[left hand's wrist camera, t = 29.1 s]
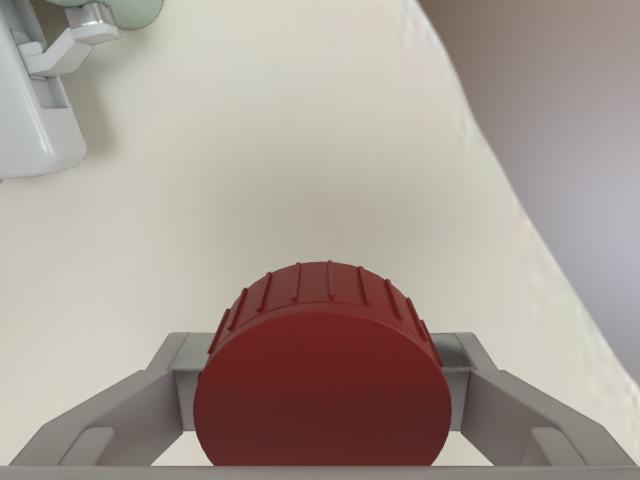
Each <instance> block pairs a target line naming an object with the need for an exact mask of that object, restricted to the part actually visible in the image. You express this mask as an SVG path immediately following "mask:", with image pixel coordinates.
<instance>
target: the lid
mask: <svg viewBox="0 0 640 480" xmlns="http://www.w3.org/2000/svg"><path fill="white" fill-rule="evenodd" d="M207 353H208V354H210V355H209V358H208V360H207V362H206V365H205V367H204V369H203V372H202V374H199V375H198V377H197V380H198V384H197V387H196V391H195V395H194V402H193V419H194V426H195V430H196V434H197V437H198V440H199V442H200V444H201V447H202V449H203V450H204V452H205V454H206V455H207V457H208V459H209V460H210V461H211V463H212V464H213V465H214V466H431V465H432V463H433V462H434V461H435V460H436V458H437V457H438V455H439V453H440V452H441V450H442V448H443V446H444V444H445V441H446V439H447V437H448V433H449V429H450V425H451V415H452V404H451V395H450V391H449V388H448V384H447V381H446V379H445V377H444V375H443V372H442V370H441V367H443V366H444V365H443V363H442V360H441V358H440V356H439V354H438V352H437V350H436V347H435V345H434V343H433V341H432V339H431V336H430V334H429V332H428V330H427V328H426V325H425V323H424V321H423V320H420V319H419V317H418V315H417V312H416V310H415V308H414V306H413V303H412V301H411V299H410V298H409V297H408V298H405V296H404V295H403V294H402V293H401V292H400V291H399V290H398V289H397V288H395V287H394V286H393V285H392V284H391V282H390V280H388V279H386V280H384V279H383V278H381V277H380V276H378V275H376V274H374V273H372V272H369V271H367V270H365V269H363V267H361V266H359V267H355V266H352V265H347V264H342V263H336V262H332V261H329V260H328V262H308V263H302V264H300V262H298V263H296V265H292V266H289V267H286V268H282V269H279V270H277V271H275V272H273V273H271V272H268V273H267V274H266V276H264V277H263V278H261V279H260V280H258V281H256V282H255V283H254V284H252V285H251V286H250V287H249V288H248V289H247V288H244V289H243V290H242V293H241V295H240V297H239V298H238V299H237V300H236V301H235V303H234V304H233V306H232V307H231V309H228V308H227V309H226V311H225V313H224V316H223V318H222V320H221V322H220V325H219V327H218V329H217V331H216V334H215V336H214V338H213V341H212V343H211V345H210V347H209V350H208V352H207Z"/></svg>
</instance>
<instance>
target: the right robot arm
mask: <svg viewBox="0 0 640 480" xmlns="http://www.w3.org/2000/svg"><path fill="white" fill-rule="evenodd" d="M63 9H64V12H65V15H66V18H67V21H68V24H69V26H68V27H67V28H66V29H65V30H64V31H63V33H62V34H61V35H60V36H59V37H58V38H57V39H56V40H55V41H54V43H53V44H48V43H47V42H46V39H45V37H44V34H43V32H42V29H41V27H40V24H39V21H38V19H37V16H36V14H35V11H34V8H33V6H32V3H31V1H30V0H0V184H1V183H2V182H3V180H4V179H16V178H25V177H33V176H39V175H45V174H50V173H54V172H59V171H63V170H67V169H71V168H74V167H77V166H78V165H79V164H80V163H81V161H82V160H83V158H84V157H85V155H86V153H87V145H86V142H85V140H84V137H83V135H82V132H81V130H80V127H79V125H78V122H77V119H76V117H75V114H74V112H73V109H72V107H71V104H70V101H69V99H68V96H67V94H66V91H65V88H64V86H63V83H62V81H61V78H60V75H64V74H68V73H73V72H75V71H76V70H77V68H78V67H79V66H80V65H81V63H82V62H83V61H84V60H85V58H86V57H87V56H88V55H89V53H90V52H91V51H92V49H93V48H94V45H95V44H99V43H104V42H108V41H113V40H117V39H119V38H120V34H119V31H118V28H117V24H116V21H115V18H114V15H113V12H112V9H111V7H109V6H104V4H102V3H100V2H88V3H84V4H83V5H82V7H78V6H71V7H66V8H63Z"/></svg>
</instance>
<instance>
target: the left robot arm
mask: <svg viewBox="0 0 640 480" xmlns="http://www.w3.org/2000/svg"><path fill="white" fill-rule="evenodd" d="M215 334H216V333H195V332H191V333H189V332H173V333H170V334H169V335H168V336H167V338H166V339H165V341H164V342H163V344H162V345H161V347H160V348H159V350H158V351H157V353H156V355H155V356H154V358H153V359H152V361H151V362H150V364H149V365H148V367H147V368H146V370H139V371H137V372H136V373H134V374H132V375H130V376H129V377H127V378H125V379H123V380H122V381H120V382H118V383H116V384H114V385H113V386H111V387H109V388H107V389H106V390H104V391H102V392H100V393H99V394H97V395H95V396H93V397H92V398H90V399H88V400H86V401H85V402H83V403H81V404H79V405H78V406H76V407H74V408H72V409H71V410H69V411H67V412H65V413H64V414H62V415H60V416H58V417H57V418H55V419H53V420H51V421H49V422H48V423H46V424H44V425H43V426H42V427H41V428H40V429H39V430H38V431H37V433H36V434H35V435H34V436H33V437H32V438H31V440H30V441H29V442H28V443H27V444H26V445H25V447H24V448H23V449H22V450H21V451H20V452H19V454H18V455H17V456H16V457H15V458H14V459H13V461H12V462H11V463H10V464H9V465H8V466H0V480H640V466H637V465H636V463H635V462H634V461H633V460H632V459H631V458H630V457H629V455H628V454H627V453H626V452H625V451H624V450H623V448H622V447H621V446H620V445H619V444H618V443H617V442H616V440H615V439H614V438H613V437H612V436H611V435H610V433H609V432H608V431H607V430H606V429H605V428H604V427H603V426H602V425H600V424H599V423H597V422H595V421H593V420H592V419H590V418H588V417H586V416H585V415H583V414H581V413H579V412H577V411H576V410H574V409H572V408H570V407H569V406H567V405H565V404H563V403H562V402H560V401H558V400H556V399H554V398H553V397H551V396H549V395H547V394H546V393H544V392H542V391H540V390H539V389H537V388H535V387H533V386H531V385H530V384H528V383H526V382H524V381H523V380H521V379H519V378H517V377H516V376H514V375H512V374H510V373H508V372H507V371H505V370H498V368H497V367H496V365H495V364H494V362H493V361H492V360H491V358H490V357H489V355H488V354H487V352H486V351H485V349H484V348H483V346H482V345H481V343H480V342H479V340H478V339H477V337H476V336H475V334H473V333H472V332H459V333H429V334H430V336H431V339H432V341H433V343H434V345H435V347H436V350H437V352H438V354H439V356H440V358H441V360H442V363H443V365H444V366H443V367H441V370H442V372H443V375H444V377H445V379H446V381H447V384H448V388H449V391H450V395H451V404H452V415H451V425H450V429H449V431H461V434H462V435H463V436H464V437H465V438H466V439H467V440H468V441H469V442H471V443H472V444H473V445H474V446H475V447H476V448H477V449H478V450H479V451H480V452H481V453H482V454H483V455H484V456H485V457H486V458H487V459H488V460H489V461H490V462H491V463H492V464H493V465H494V466H150V465H151V464H152V463H153V462H154V461H155V460H156V459H157V458H158V457H159V456H160V455H161V454H162V453H163V452H164V451H165V450H166V449H167V448H168V447H169V446H170V445H171V444H172V443H174V442H175V441H176V440H177V439H178V438H179V437H180V436H181V435H182V434H183V431H196V430H195V426H194V419H193V402H194V395H195V391H196V387H197V384H198V380H197V377H198V375H199V374H202V372H203V369H204V367H205V365H206V362H207V360H208V358H209V355H210V354H208V353H207V352H208V350H209V347H210V345H211V343H212V341H213V338H214V336H215Z"/></svg>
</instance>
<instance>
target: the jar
mask: <svg viewBox="0 0 640 480" xmlns="http://www.w3.org/2000/svg"><path fill="white" fill-rule="evenodd" d="M45 1H48V2H51V3H54V4H57V5H59V6H62V7H65V8H66V7H71V6H78V7H82V5H83V4H84V3H88V2H100V3H102V4H104V6H109V7H111V9H112V12H113V15H114V18H115V21H116V24H117V26H118V27H121V28H124V29H139V28H143V27H145V26H147V25H148V24H150V23H151V22H152V21H153V20H154V19H155V18H156V17H157V15H158V13H159V11H160V9H161V6H162V2H163V0H45Z"/></svg>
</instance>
